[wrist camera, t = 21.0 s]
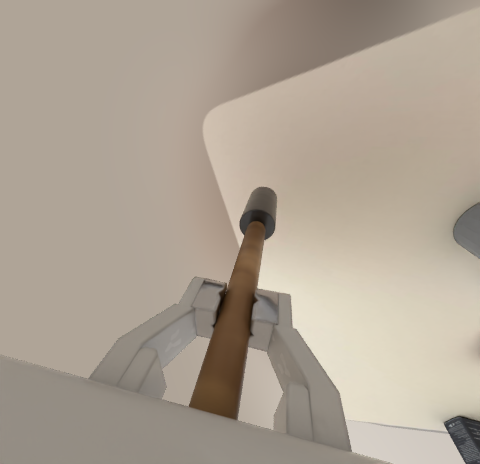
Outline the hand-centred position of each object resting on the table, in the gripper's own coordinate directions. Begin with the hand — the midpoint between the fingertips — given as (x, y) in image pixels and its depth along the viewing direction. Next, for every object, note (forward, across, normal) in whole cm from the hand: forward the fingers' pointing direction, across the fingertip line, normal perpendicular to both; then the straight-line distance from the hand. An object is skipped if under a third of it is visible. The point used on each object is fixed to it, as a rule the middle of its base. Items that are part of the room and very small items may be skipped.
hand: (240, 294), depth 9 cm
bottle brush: (+13, 0, 0) cm, 13 cm away
